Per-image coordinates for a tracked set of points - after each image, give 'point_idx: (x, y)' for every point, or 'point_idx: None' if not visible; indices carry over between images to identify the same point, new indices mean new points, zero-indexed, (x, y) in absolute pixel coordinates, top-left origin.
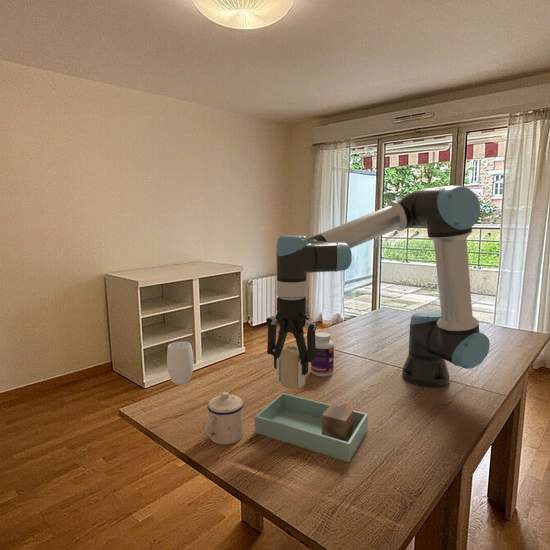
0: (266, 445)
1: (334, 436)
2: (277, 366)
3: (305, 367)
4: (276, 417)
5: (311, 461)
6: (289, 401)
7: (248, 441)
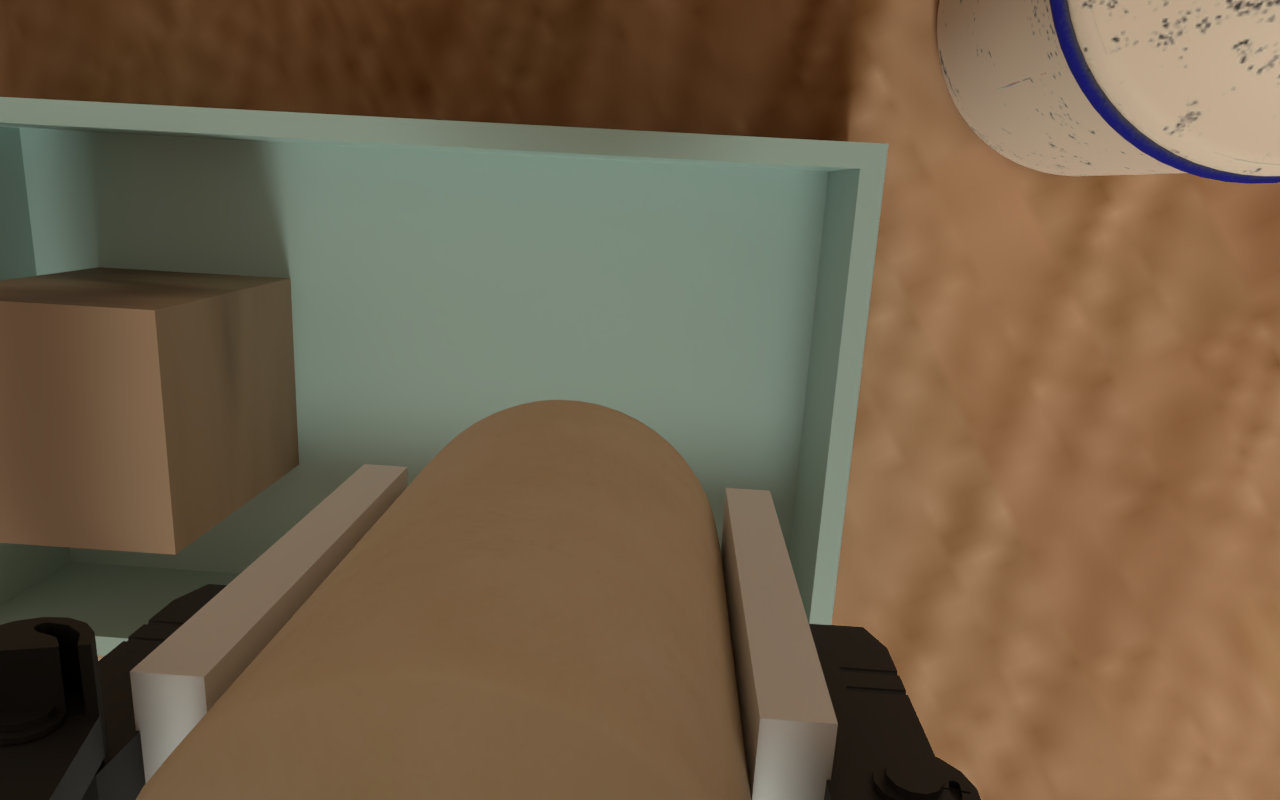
0: (684, 47)
1: (137, 279)
2: (787, 615)
3: (108, 663)
4: (776, 452)
5: (266, 10)
6: None
7: (855, 29)
